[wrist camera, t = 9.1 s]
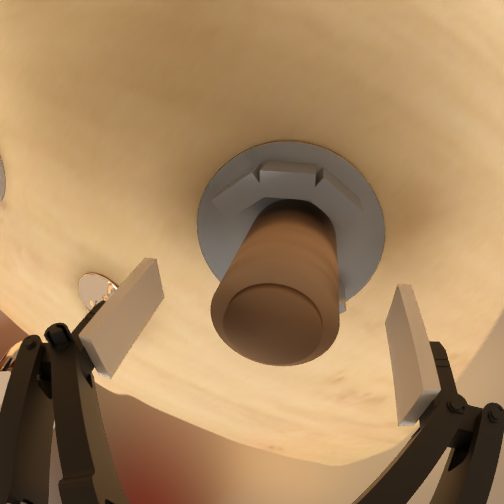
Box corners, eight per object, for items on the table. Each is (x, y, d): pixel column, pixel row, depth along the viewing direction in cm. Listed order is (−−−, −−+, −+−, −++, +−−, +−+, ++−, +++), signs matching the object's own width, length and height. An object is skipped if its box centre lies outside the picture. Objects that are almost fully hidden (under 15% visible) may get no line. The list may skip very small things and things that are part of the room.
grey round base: (194, 139, 21) (172, 148, 17) (395, 151, 18) (410, 163, 15) (208, 298, 27) (194, 324, 24) (364, 316, 25) (367, 345, 22)
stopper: (252, 194, 21) (202, 264, 13) (342, 204, 20) (353, 285, 12) (249, 270, 24) (210, 362, 16) (329, 281, 23) (325, 381, 15)
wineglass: (82, 258, 29) (-45, 388, 12) (140, 298, 30) (27, 457, 13) (76, 302, 33) (-21, 417, 16) (126, 337, 34) (39, 468, 17)
